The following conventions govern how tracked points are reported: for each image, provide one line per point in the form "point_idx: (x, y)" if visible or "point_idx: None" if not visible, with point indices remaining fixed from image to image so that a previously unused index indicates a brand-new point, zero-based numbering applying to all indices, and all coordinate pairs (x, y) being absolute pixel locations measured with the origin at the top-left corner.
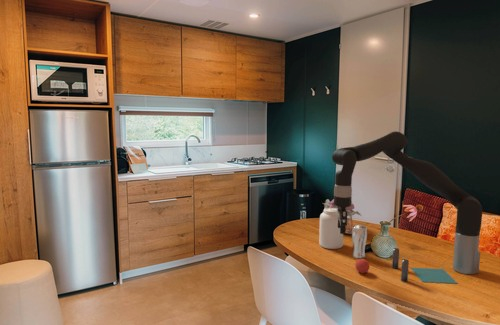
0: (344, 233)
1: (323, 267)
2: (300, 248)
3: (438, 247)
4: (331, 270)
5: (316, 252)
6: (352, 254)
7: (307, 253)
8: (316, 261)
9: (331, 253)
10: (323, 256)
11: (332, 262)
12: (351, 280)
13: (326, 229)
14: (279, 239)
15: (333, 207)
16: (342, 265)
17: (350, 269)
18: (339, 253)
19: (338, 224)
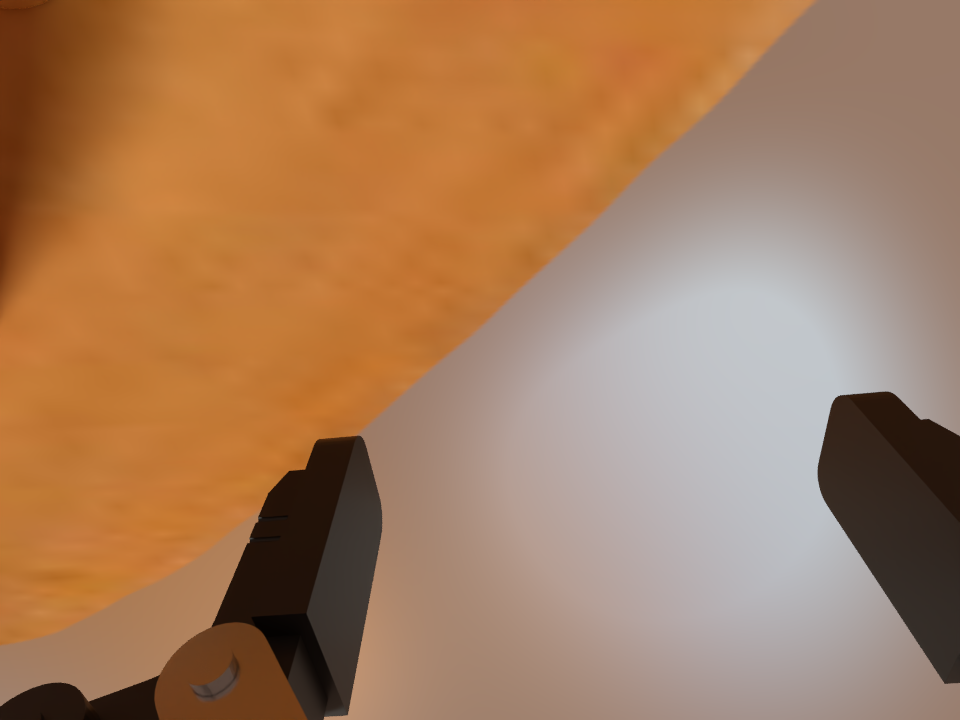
0: (887, 409)
1: (482, 322)
2: (123, 505)
3: None
4: (536, 253)
5: (146, 389)
6: (11, 7)
7: (210, 453)
8: (363, 380)
9: (93, 258)
10: (216, 329)
11: (336, 246)
12: (757, 53)
13: None
14: (20, 635)
15: None
16: (382, 143)
17: (469, 53)
18: (42, 172)
19: (365, 577)
